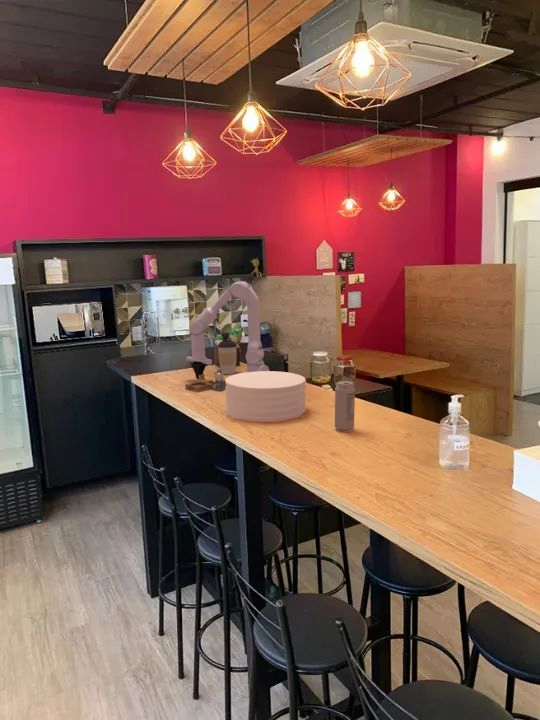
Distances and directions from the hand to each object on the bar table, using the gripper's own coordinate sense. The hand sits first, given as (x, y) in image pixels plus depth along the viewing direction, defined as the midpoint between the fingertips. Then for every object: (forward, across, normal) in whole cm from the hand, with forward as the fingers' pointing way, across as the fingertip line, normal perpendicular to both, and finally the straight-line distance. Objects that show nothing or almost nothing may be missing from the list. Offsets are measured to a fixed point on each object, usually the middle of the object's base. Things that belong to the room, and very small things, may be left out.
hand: (199, 379), depth 242 cm
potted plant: (+2, +16, -34) cm, 38 cm away
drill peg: (+1, -13, +1) cm, 13 cm away
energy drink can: (+2, -86, +17) cm, 88 cm away
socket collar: (+1, -13, +1) cm, 13 cm away
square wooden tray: (+1, -10, +9) cm, 13 cm away
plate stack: (+2, -52, +16) cm, 55 cm away
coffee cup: (+2, +4, -22) cm, 22 cm away
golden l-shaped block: (+1, -4, 0) cm, 5 cm away
